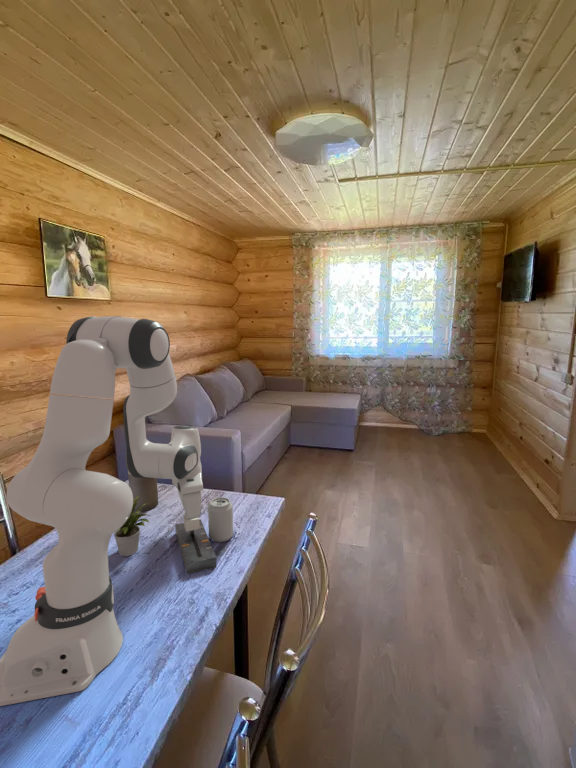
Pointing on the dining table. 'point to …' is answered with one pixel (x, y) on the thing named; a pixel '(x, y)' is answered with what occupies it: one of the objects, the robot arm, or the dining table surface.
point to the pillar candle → (144, 492)
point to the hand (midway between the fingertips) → (188, 518)
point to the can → (220, 519)
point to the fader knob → (191, 524)
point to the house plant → (130, 532)
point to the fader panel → (195, 549)
